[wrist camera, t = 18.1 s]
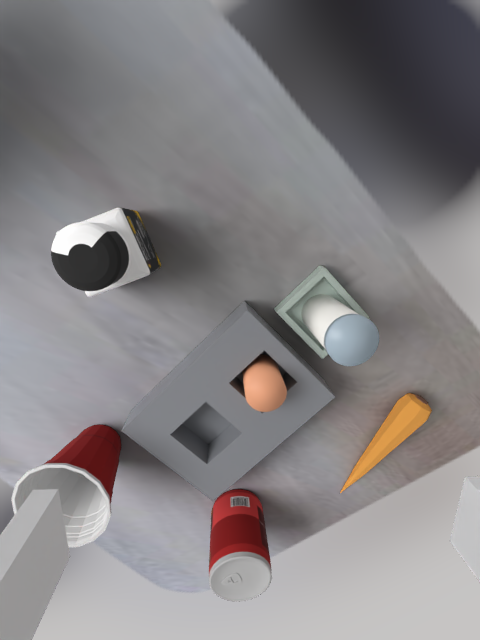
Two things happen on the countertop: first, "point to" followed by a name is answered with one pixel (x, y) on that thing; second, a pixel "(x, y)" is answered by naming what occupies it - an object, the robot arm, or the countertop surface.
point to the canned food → (238, 547)
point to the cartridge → (340, 330)
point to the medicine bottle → (104, 252)
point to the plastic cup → (79, 482)
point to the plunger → (264, 384)
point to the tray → (312, 285)
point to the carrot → (392, 433)
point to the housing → (224, 405)
